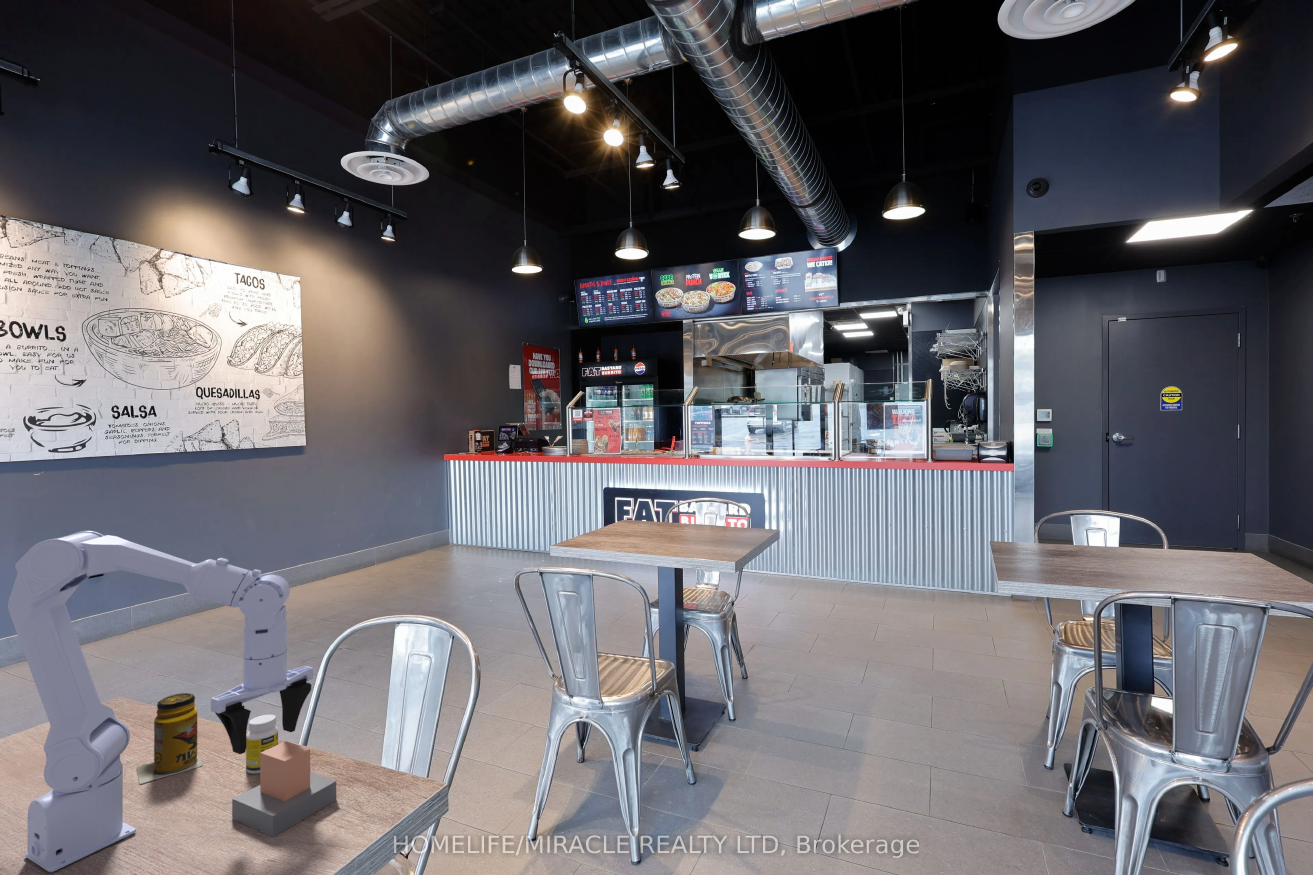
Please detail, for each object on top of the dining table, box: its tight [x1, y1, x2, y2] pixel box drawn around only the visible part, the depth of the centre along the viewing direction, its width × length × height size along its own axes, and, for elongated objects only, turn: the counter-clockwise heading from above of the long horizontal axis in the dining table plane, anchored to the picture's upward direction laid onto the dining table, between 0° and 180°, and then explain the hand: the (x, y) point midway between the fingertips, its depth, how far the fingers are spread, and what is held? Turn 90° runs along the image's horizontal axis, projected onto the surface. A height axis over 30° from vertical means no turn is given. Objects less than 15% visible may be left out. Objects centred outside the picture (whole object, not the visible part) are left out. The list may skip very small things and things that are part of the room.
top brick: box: [259, 740, 311, 801], centre depth 94 cm, size 4×6×6 cm, turn 65°
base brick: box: [231, 771, 337, 837], centre depth 94 cm, size 10×10×3 cm
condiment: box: [136, 692, 203, 785], centre depth 107 cm, size 7×8×12 cm
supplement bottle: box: [245, 714, 279, 775], centre depth 106 cm, size 5×5×8 cm
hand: (265, 740), depth 95 cm, fingers open, 7 cm apart
